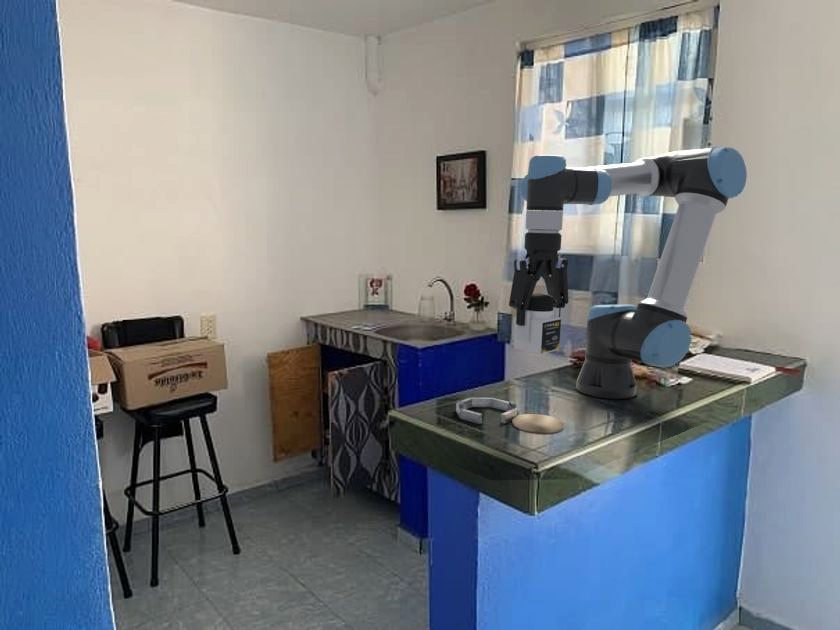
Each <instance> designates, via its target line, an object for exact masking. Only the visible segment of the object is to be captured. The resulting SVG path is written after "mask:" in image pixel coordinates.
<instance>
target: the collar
mask: <svg viewBox="0 0 840 630" xmlns="http://www.w3.org/2000/svg"><path fill="white" fill-rule="evenodd" d="M455 406H456V407H455V409H456V410H455V412H456V414H457V415H458V418H459V419H461V420H463V421H468V422H471V423H475V424H482V423H483V413H480V412H476V411H473V410H469V409H471V408H494V409H497V410H501V411H505V412H503V413H501V415H500V423H501V424H504V425H505V424H508V423H510V422H512V420H513V418H514V417H516V416H518V408H517V404H516V403H515V401H514V400H509V401H508V400H502V399H500V398H499V399H498V398H494V397H468V398H465V399H463V400H457V402H456V405H455Z"/></svg>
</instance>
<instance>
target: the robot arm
mask: <svg viewBox="0 0 840 630" xmlns="http://www.w3.org/2000/svg"><path fill="white" fill-rule="evenodd" d="M747 176H748V175H747V166H746V164H745V159H744V157H743V156H742V155H741V153H740V152H739V151H738V150H736V149H735V148H733V147H726V146H725V147H723V146H722V147H720V146H713V147H711V148H710V147H709V148H708V147H707V148H699V149H698V148H697V149H687V150H684V149H683V150H675V151H672V152H671V151H670V152H667V153H664V154H659V155H654V156H648V157H642V158H638V159H637V160H636V161H635V162H632V163H631V162H630V163H619V164H618V163H617V164H607V165H596V166H587V167H586V166H585V167H568V166H567V159H566V158H565V156H563V155H560V154H559V155H557V154H555V155H554V154H542V155H541V154H540V155H539V154H538V155H534V156H532V157H531V158H530V159H529V163H528V171H527V174H526V175H524V177H523V179H522V180H521V183H520V195H521V196H522V198H523V200H525V202H526V210H525V211H526V212H525V230H527V231H528V232H526V233H525V234H524V245H523V246H524V249H525V251H526V255H525V256H524V258H523V259H515V260H514V261H513V268H514V273H513V278H512V284H511V290H510V296H509V302H508V306H509V307H511V308H512V309H514V310H516V315H515V318H516V324H517V325H518V330H517V340H520V341H524V342H529V324H530V311H528V310H527V308H528V305H529V302H530V300H531V297H532V294H534V291H535V288H536V285H537V284H538V281H540V279H541V278H542V279H543V280H544V284H545V287H546V292H547V294H548V295H550V296H552V297H553V298H554V304H553V314H551V316H555V317H560V318H561V310H562V309H564V308H566V305H568V303H569V285H568V270H567V269H568V265H569V259H567V258H561V257H559V255H558V252H560V251H561V249H562V238H563V237H562V234H561V231H562V230H563V219H564V205H587V206H593V205H601V204H603V203H605V202H606V201H607V200H608V199H609V197H617V196H618V197H619V196H627V195H634V194H636V195H638V196H639V197H665V198H666V197H667V198H674V200H675V201H676V203H677V204H678V207H677V210H676V212H675V216H674V219H673V221H672V224H671V228H670V230H669V233H668V236H667V239H666V242H665V245H664V248H663V251H662V252H661V253H662V254H661V256H660V259H659V262H658V266H657V268H656V271H655V273H654V277H653V280H652V283H651V285H650V289H649V290H648V291H649V292H648V294H647V297H646V298H644V299H643V300H641V301H638V303H637V306H636V305H635V304H626V303H625V304H620V303H619V304H598V305H597V304H596V305H593V306H591V307H590V308H589V311H588V317H587V324H586V338H585V339H586V342H585V343H586V344H585V356H584V358H585V360H584V362H583V365H582V367H581V369H580V371H579V374H578V377H577V379H576V383H575V385H576V386H575V388H576V390H577V391H578V392H580V393H582V394H585V395H587V396H592V397H596V398H601V399H602V398H603V399H610V400H611V399H612V400H619V399H620V400H622V399H629V398H633V397H635V396H636V394H637V383H636V382H637V381H636V379H635V375H634V370H633V366H632V361H636V362H640V363H643V364H645V365H648V366H652V367H654V366H655V367H659V368H670V367H673V366H674V365H675V364H677V363H679V362H680V361H681V360H683V358H684V357H685V356H686V354H687V353H688V351H689V349H690V346H691V343H692V335H691V334H692V331H691V328H690V326H689V325H688V324H687V321H688V317H689V316H688V315H687V313H686V311H685V306H686V302H687V300H688V297H689V293H690V292H691V291H690V290H691V288H692V285H693V282H694V279H695V276H696V273H697V271H698V267H699V265H700V263H701V258H702V255H703V253H704V250H705V247H706V244H707V241H708V238H709V236H710V232H711V230H712V226H713V223H714V221H715V218H716V215H717V214H719V213H722V211H725V209H726V207H727V204H728V201H729V199H734V198H735V197H738V196H739V195H740V194H741V193H742V192H743V191H744V189H745V186H746V183H747V178H748V177H747Z"/></svg>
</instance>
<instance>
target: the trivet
mask: <svg viewBox="0 0 840 630" xmlns="http://www.w3.org/2000/svg"><path fill="white" fill-rule="evenodd" d="M511 423H512V425H513V427H515V428H517V429H519V430H521V431H524V432H528V433H534V434H554V433H558V432H561V431H562V430H564V426H565V425H564V422H563V421H562V420H560V419H559V418H556V417H554V416H551V415H546V414H541V413H540V414H539V413H525V414H524V413H523V414H517V416H516V417H514V418H513V420H512V421H511Z"/></svg>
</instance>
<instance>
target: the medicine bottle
mask: <svg viewBox="0 0 840 630" xmlns="http://www.w3.org/2000/svg"><path fill="white" fill-rule="evenodd" d="M553 304H554V298H553V297H552V296H550V295H548V293H547V294H546V293H533V294H532V297H531V300H530V302H529V305H528V308H527V310H528V311H530V324H529V342H524V341H520V340H517V330H518V325H517V324H516V317H515V319H514V336H513V337H514V339H513V348H514V350H518V351H522V352H528V353H532V354H538V355H543V354H544V355H545V354H547V353H551V352H555V351H558V350H560V341H561V339H560V338H561V326H562V325H561V324H562V318H561V316H560V317H555V316H551V314H553Z"/></svg>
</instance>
